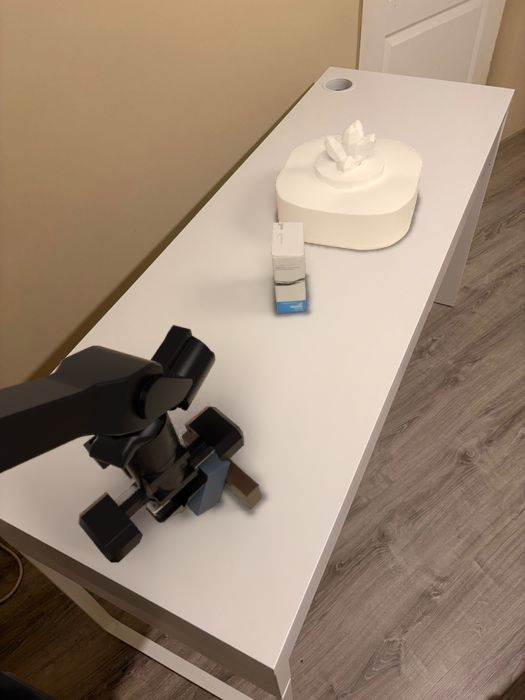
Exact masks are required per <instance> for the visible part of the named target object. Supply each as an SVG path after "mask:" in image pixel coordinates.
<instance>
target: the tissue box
mask: <svg viewBox="0 0 525 700" xmlns="http://www.w3.org/2000/svg"><path fill="white" fill-rule="evenodd" d="M423 164H424V163H423V158H422V156H421V154H420V153H419V152H418V151H417V150H416V149H414V148H413V147H412V146H410V145H408V144H406V143H404V142H402V141H399V140H396V139H393V138H392V139H391V138H383V137H382V138H381V137H379V138H378V137H376V135H375V133H374V132H371V133H368V134H366V135H365V129H364V125H363V124H362V122H361V121H360V120H359V118H357V119H356V120H355V121H353V122H352V123H350V124H349V126H347V127H345V128H344V130H343V133H342V134H328V135H321V136H318V137H315V138H312V139H308V140H307V141H303V142H301V143H299V144H298V145H297V146H296V147H294V149H292V151H291V152H290V154H289V156H288V158H287V160H286V162H285V164H284V165H283V167H282V168H281V171H280V172H279V173H278V175H277V177H276V180H275V195H276V206H277V207H276V208H277V220H278V222H303V228H304V243H308V244H315V245H321V246H328V247H334V248H335V247H336V248H341V249H349V250H356V251H370V250H379V249H383V248H387V247H390V246H392V245H394V244H396V243H397V242H399V241H400V240H401V239H403V238H404V237H405V235H406V234H407V233H408V232H409V229H410V227H411V223H412V219H413V215H414V212H415V207H416V205H417V199H418V193H419V188H420V181H421V175H422V170H423Z"/></svg>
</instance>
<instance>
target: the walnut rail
mask: <svg viewBox="0 0 525 700" xmlns="http://www.w3.org/2000/svg"><path fill="white" fill-rule="evenodd" d="M181 438H182V441H183V443H184V444H185V445H184V446H186V445H188V444H190V443H192V442H193V441H194V440H195V439H196V438H197V436H196V435H195V434H194V433H193V432H189V431H188V430H186V431H185V432H184V433H183V434H182V435H181ZM228 461H229V462H230V465H229V469H228V472H227V476H226V479H225V483H224V486H225V488H227V490H229V491H230V492H231V493H232V494H233V495H234V496H235V497H236V498H237V499H238V500H239V501H241V503H242V504H243V505H244V506H246V507H247V508H248V510H250V511H251V510H252V509H253V508H254V507H255V506H256V505H257V504H258V503H259V502H260V501H261V500H262V493H261V489H260V485H259V483H257V482H256V481H255V480H254V478H252V477H251V476H250V475H248V474H247V473H246V472H245V471H244V470H243V469H242V468H241V467H240V466H238V465H237V463H235V461H233V460H232V459H231V458H230V459H229V460H228Z"/></svg>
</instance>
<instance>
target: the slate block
mask: <svg viewBox="0 0 525 700" xmlns="http://www.w3.org/2000/svg"><path fill="white" fill-rule="evenodd" d="M190 444H191V443H190ZM190 444H188V445H190ZM188 445H183V446H184V447H185V448H186V447H187V446H188ZM204 452H205V451H204ZM196 459H197V458H196ZM229 465H230V462H229V461H228V460H227V461H223V462H222V461H221V460H220V459H218V455H217V454H216V453H215V452H214V451H213V454H212V455H211V456H209V457H208V458H207V459H206V460H205V461H204V462H203V463H202V464H201V465H200V466H199V468H200V469H201V470H202V471H203V472H204V473H205V474H206V475H207V477H208V481H207V483H206V484H205V485H204V486H203V487H202V488H201V489H200V491H199V492H198V493H197V494H196V496H195V497H194V498H193V500H192V501H191V503H190V504H189V505H188V507H187V508H188V509H190V510H191V511H192V513H193V514H194V515H195V516H196V517H200V516H201V515H202V514H204V513H206V512H207V511H209V510H210V509H211V508H213V507H215V506H216V505H218V504H219V503H220V500H221V497H222V493H223V489H224V486H225V485H224V483H225V479H226V476H227V472H228V469H229Z"/></svg>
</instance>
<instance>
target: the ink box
mask: <svg viewBox="0 0 525 700" xmlns="http://www.w3.org/2000/svg"><path fill="white" fill-rule="evenodd" d="M270 248H271V249H270V250H271V251H270V255H271V263H272V273H273V283H274V294H275V303H276V313H277V314H291V313H303V312H304V313H305V312H307V285H306V284H307V283H306V282H307V280H306V279H307V278H306V276H307V275H306V248H305V242H304V228H303V222H279V221H278V222H273V223H272V229H271V247H270Z"/></svg>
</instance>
